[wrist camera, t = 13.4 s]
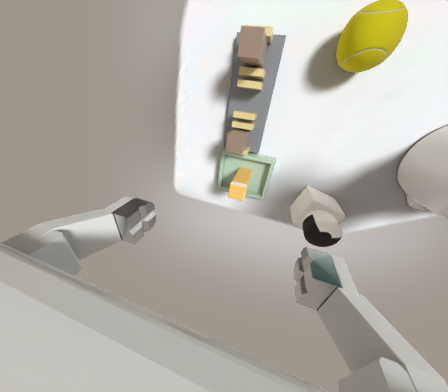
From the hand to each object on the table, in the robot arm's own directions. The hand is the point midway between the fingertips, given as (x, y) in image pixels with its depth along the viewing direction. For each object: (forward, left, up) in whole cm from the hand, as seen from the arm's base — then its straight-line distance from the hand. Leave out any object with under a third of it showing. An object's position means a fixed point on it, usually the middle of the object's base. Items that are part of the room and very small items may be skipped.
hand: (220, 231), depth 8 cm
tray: (+2, +9, -31) cm, 32 cm away
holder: (+4, -6, -31) cm, 32 cm away
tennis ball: (-11, -15, -31) cm, 36 cm away
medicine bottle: (-15, +13, -31) cm, 37 cm away
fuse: (+2, +9, -30) cm, 32 cm away
